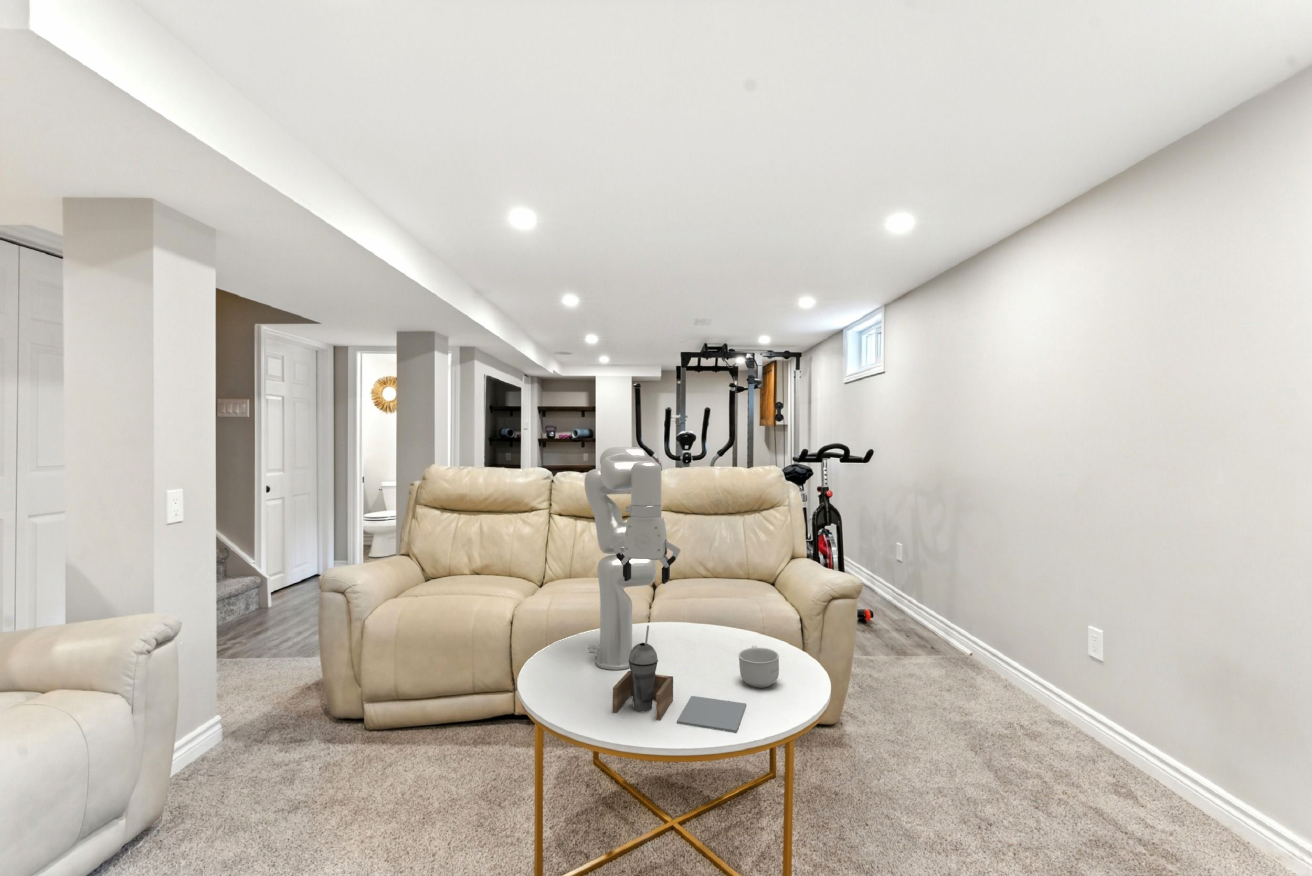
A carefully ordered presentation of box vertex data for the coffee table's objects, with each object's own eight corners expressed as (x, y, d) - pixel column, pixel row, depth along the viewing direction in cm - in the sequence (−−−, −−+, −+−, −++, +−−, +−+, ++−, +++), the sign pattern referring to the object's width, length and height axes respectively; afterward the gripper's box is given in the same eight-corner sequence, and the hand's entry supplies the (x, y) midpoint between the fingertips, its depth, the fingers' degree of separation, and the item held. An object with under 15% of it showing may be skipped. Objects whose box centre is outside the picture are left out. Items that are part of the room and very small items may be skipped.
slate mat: (676, 723, 132) (676, 720, 132) (691, 697, 145) (691, 695, 145) (736, 732, 128) (736, 730, 128) (746, 705, 141) (746, 703, 141)
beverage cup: (627, 701, 143) (628, 621, 143) (656, 700, 144) (656, 620, 144) (628, 715, 136) (629, 630, 136) (659, 714, 136) (659, 630, 136)
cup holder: (612, 712, 137) (612, 687, 137) (628, 693, 147) (628, 670, 147) (660, 720, 133) (660, 694, 133) (673, 700, 143) (673, 676, 144)
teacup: (779, 693, 148) (779, 662, 148) (737, 689, 150) (737, 659, 150) (778, 672, 162) (778, 644, 162) (740, 669, 164) (740, 641, 164)
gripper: (608, 512, 140) (607, 582, 139) (676, 514, 135) (676, 587, 134) (618, 509, 147) (618, 576, 147) (683, 511, 142) (683, 580, 142)
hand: (646, 581), depth 140 cm, fingers open, 9 cm apart
